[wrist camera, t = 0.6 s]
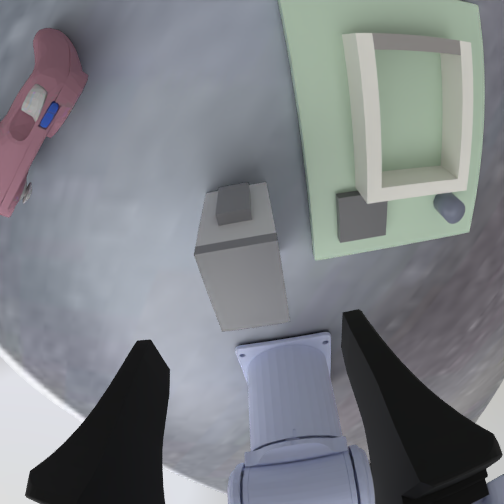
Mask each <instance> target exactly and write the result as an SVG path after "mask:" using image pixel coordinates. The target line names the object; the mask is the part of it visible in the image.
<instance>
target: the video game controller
mask: <svg viewBox="0 0 504 504" xmlns="http://www.w3.org/2000/svg"><path fill="white" fill-rule="evenodd" d="M33 47H34V53H35V67H34V70H33V73H32V74H31V75H30V77H29V78H28V80H27V81H26V82H25V84H24V85H23V87H22V88H21V90H20V91H19V93H18V94H17V96H16V98H15V100H14V102H13V104H12V105H11V107H10V109H9V111H8V113H7V115H6V116H5V117H4V119H3V120H2V121H1V122H0V215H3V216H5V217H8V218H9V217H10V216H11V215H12V213H13V211H14V208H15V206H16V204H17V203H18V202H19V201H20V200H21V199H22V197H23V203H25V202H26V201H27V199H29V197H30V195H31V192H32V184H31V183H29V185H28V186H27V181H26V177H27V174H28V170H29V168H30V166H31V164H32V162H33V160H34V158H35V156H36V154H37V152H38V150H39V148H40V147H41V145H42V143H43V141H44V139H45V138H46V136H47V137H49V138H51V137H52V136H53V135H55V133H56V132H57V131H58V130H59V128H60V127H61V126H62V124H63V123H64V121H65V120H66V118H67V117H68V115H69V114H70V112H71V110H72V109H73V107H74V106H75V104H76V101H77V100H78V98H79V96H80V95H81V93H82V91H83V89H84V87H85V84H86V82H87V80H88V75H87V74H86V73H84V72H83V71H82V66H81V63H80V60H79V57H78V54H77V51H76V49H75V47H74V46H73V44H72V42H71V41H70V39H69V38H68V37H67V36H66V35H65V34H63V33H62V32H61V31H59V30H56V29H52V28H44V29H41V30H39V31H38V32H37V33H36V35H35V38H34V40H33Z"/></svg>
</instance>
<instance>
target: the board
mask: <svg viewBox="0 0 504 504" xmlns="http://www.w3.org/2000/svg"><path fill="white" fill-rule="evenodd" d="M278 5H279V10H280V15H281V20H282V25H283V30H284V35H285V41H286V46H287V52H288V58H289V63H290V69H291V75H292V81H293V88H294V94H295V101H296V107H297V114H298V121H299V128H300V136H301V143H302V151H303V159H304V168H305V176H306V185H307V194H308V204H309V214H310V224H311V235H312V247H313V255H314V258H315V261H317V260H323V259H329V258H334V257H340V256H346V255H351V254H357V253H362V252H368V251H373V250H379V249H384V248H390V247H395V246H400V245H406V244H411V243H416V242H422V241H427V240H432V239H437V238H442V237H447V236H453V235H458V234H463V233H468V232H469V230H470V225H471V220H472V215H473V210H474V204H475V199H476V192H477V186H478V179H479V171H480V163H481V154H482V142H483V128H484V102H485V82H484V56H483V42H482V32H481V23H480V15H479V8H478V5H475V4H471V3H467V2H463V1H459V0H278Z"/></svg>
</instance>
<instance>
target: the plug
mask: <svg viewBox="0 0 504 504" xmlns="http://www.w3.org/2000/svg"><path fill="white" fill-rule="evenodd" d="M194 256H195V259H196V262H197V265H198V268H199V271H200V273H201V276H202V279H203V282H204V284H205V287H206V290H207V293H208V295H209V298H210V301H211V303H212V306H213V309H214V311H215V314H216V317H217V319H218V322H219V325H220V327H221V330H222V332H226V331H233V330H241V329H248V328H255V327H261V326H268V325H274V324H281V323H287V322H290V317H289V310H288V304H287V297H286V290H285V284H284V277H283V271H282V264H281V258H280V252H279V245H278V239H277V234H276V229H275V224H274V219H273V214H272V208H271V203H270V198H269V193H268V188H267V183H266V182H263V183H257V184H252V185H249V184H248V182H246V183H241V184H235V185H230V186H225V187H220V188H219V189H218V191H215V192H210V193H206V195H205V199H204V204H203V209H202V215H201V220H200V225H199V230H198V235H197V241H196V246H195V252H194Z"/></svg>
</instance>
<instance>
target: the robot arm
mask: <svg viewBox="0 0 504 504" xmlns="http://www.w3.org/2000/svg"><path fill="white" fill-rule="evenodd" d="M341 348H342V352H343V357H344V362H345V366H346V371H347V374H348V377H349V380H350V383H351V386H352V389H353V392H354V395H355V398H356V401H357V404H358V407H359V411H360V414H361V417H362V420H363V424H364V428H365V433H366V438H367V444H368V449H369V455H370V461H371V468H372V474H371V469H370V465H369V461H368V458H367V455H366V453H365V451H364V450H363V449H361V448H359V447H358V446H357V445H351V446H349V447H348V446H347V441H346V436H342V431H341V426H340V421H339V416H338V411H337V406H336V402H335V397H334V392H333V388H332V383H331V379H330V372H331V335H330V333H329V332H321V333H316V334H310V335H304V336H299V337H293V338H287V339H280V340H274V341H267V342H261V343H254V344H246V345H239V346H237V347H236V348H235V352H236V355H237V358H238V360H239V363H240V366H241V368H242V371H243V373H244V376H245V379H246V381H247V384H248V398H249V422H250V446H251V451H250V452H245V463H239V464H238V465H237V466H236V467H235V469H234V470H233V471H232V473H231V475H230V477H229V482H228V504H375V503H376V504H504V474H503V475H501V476H499V477H497V478H496V479H494V480H492V481H491V482H488V483H487V484H486V481H485V478H486V477H487V476H488V474H487V471H486V468H488V467H489V466H491V465H492V464H493V463H495V462H496V461H498V460H499V459H500V458H501V457H502V452H501V449H500V446H499V444H498V441H497V440H496V438H495V436H494V434H493V433H491V432H489V431H488V430H486V429H484V428H482V427H480V426H479V425H477V424H475V423H474V422H472V421H471V420H469V419H468V418H466V417H465V416H463V415H462V414H460V413H459V412H457V411H456V410H455V409H453V408H452V407H451V406H449V405H448V404H447V403H445V402H444V401H443V400H441V399H440V398H439V397H438V396H437V395H435V394H434V393H433V392H432V391H431V390H430V389H428V388H427V387H426V386H425V385H424V384H423V383H422V382H421V381H420V380H419V379H418V378H417V377H416V376H415V375H414V374H413V373H412V372H411V371H410V370H409V369H408V368H407V367H406V366H405V365H404V364H403V363H402V362H401V361H400V360H399V358H398V357H397V356H396V355H395V354H394V353H393V351H392V350H391V349H390V348H389V347H388V346H387V344H386V343H385V342H384V341H383V340H382V338H381V337H380V336H379V334H378V333H377V332H376V331H375V329H374V328H373V327H372V325H371V324H370V323H369V321H368V320H367V318H366V317H365V315H364V314H363V313H362V311H361V310H359V309H358V310H353V311H348V312H343V318H342V342H341ZM169 388H170V369H169V367H168V366H167V364H166V363H165V361H164V360H163V358H162V357H161V355H160V354H159V352H158V350H157V349H156V347H155V346H154V344H153V342H152V341H151V340H140V341H137V342H136V343H135V345H134V346H133V348H132V350H131V351H130V353H129V354H128V356H127V358H126V359H125V361H124V363H123V364H122V366H121V368H120V369H119V371H118V373H117V374H116V376H115V377H114V379H113V381H112V382H111V384H110V385H109V387H108V388H107V390H106V392H105V393H104V394H103V396H102V397H101V399H100V400H99V402H98V403H97V405H96V406H95V408H94V409H93V410H92V412H91V413H90V414H89V416H88V417H87V418H86V419H85V420H84V422H83V423H82V424H81V426H79V428H78V429H77V430H76V431H75V432H74V433H73V434H72V435H71V436H70V437H69V438H68V439H67V441H66V442H65V443H64V444H63V445H61V446H60V447H59V448H58V449H57V450H56V451H55V452H54V453H53V454H52V455H50V456H49V457H48V458H47V459H46V460H44V461H43V462H42V463H40V464H39V465H38V466H36V467H35V468H34V469H32V470H31V471H30V474H29V478H28V483H27V488H26V494H25V496H26V497H27V498H29V499H31V500H33V501H35V502H38V503H40V504H165V499H164V490H163V472H162V447H163V436H164V429H165V421H166V414H167V407H168V399H169ZM372 476H373V479H372ZM373 483H374V485H373Z"/></svg>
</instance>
